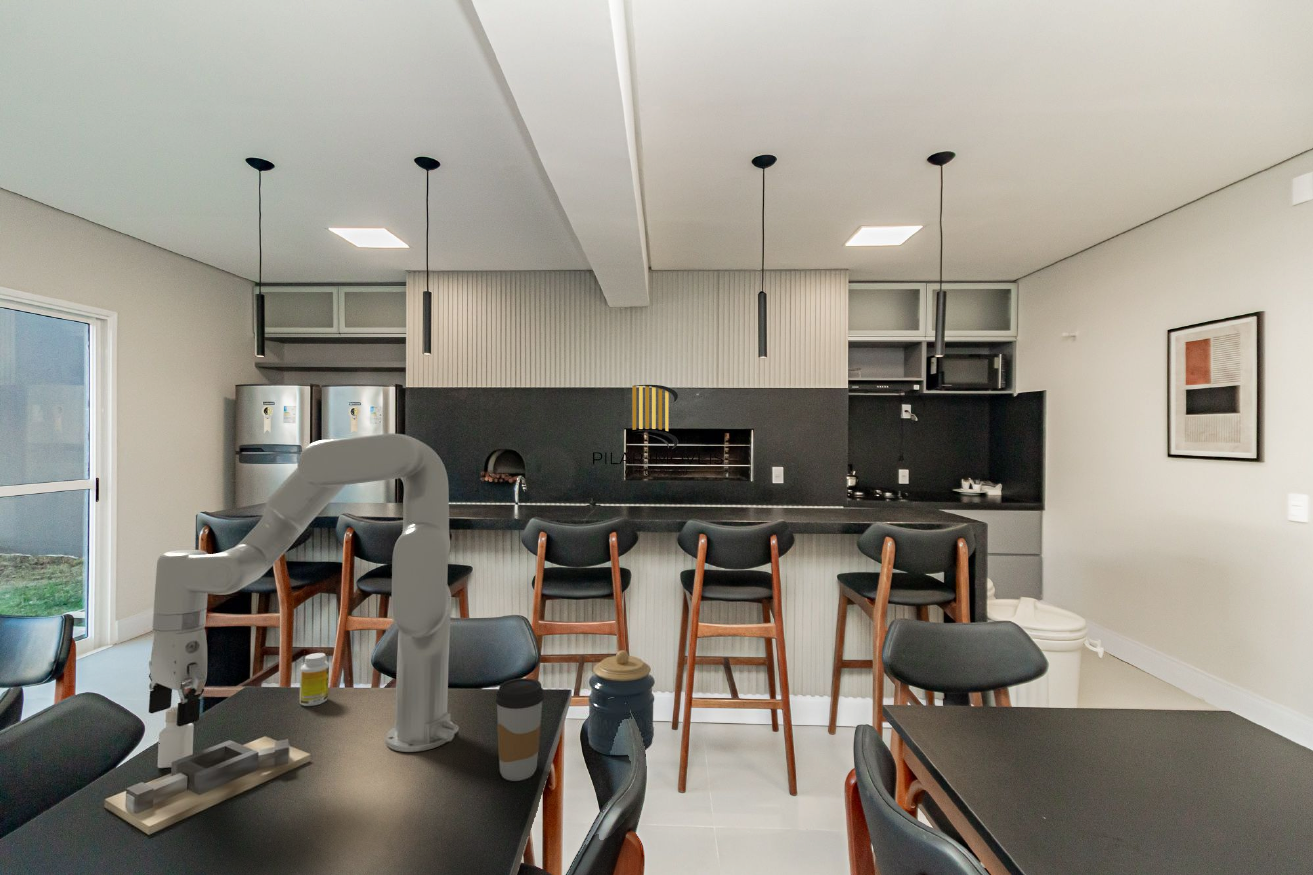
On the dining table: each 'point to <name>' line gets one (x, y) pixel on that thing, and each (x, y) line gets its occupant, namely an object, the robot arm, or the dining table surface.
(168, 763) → the pepper shaker
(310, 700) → the supplement bottle
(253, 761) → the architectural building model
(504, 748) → the coffee cup
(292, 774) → the dining table surface
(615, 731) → the canister
